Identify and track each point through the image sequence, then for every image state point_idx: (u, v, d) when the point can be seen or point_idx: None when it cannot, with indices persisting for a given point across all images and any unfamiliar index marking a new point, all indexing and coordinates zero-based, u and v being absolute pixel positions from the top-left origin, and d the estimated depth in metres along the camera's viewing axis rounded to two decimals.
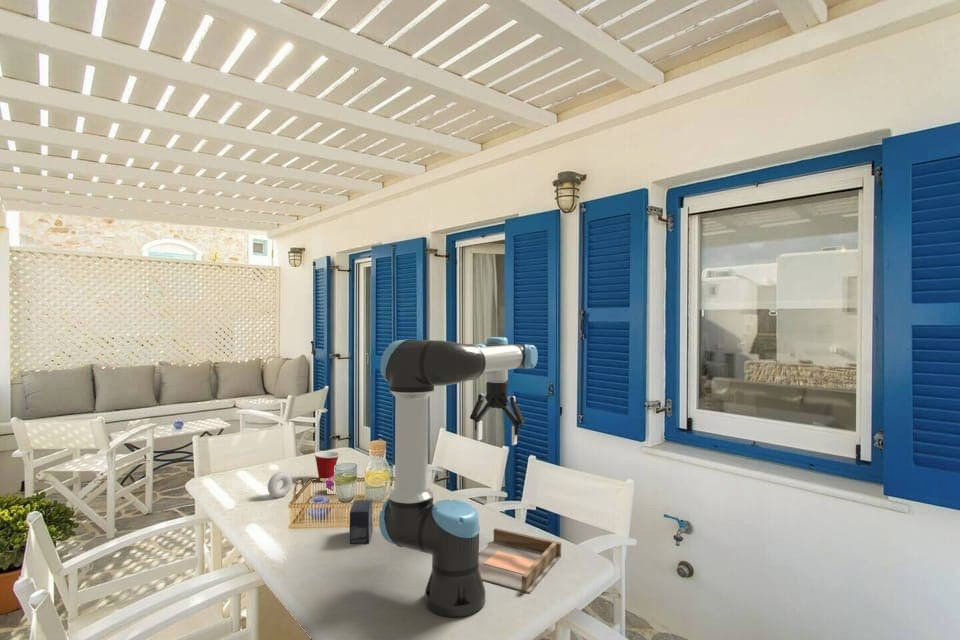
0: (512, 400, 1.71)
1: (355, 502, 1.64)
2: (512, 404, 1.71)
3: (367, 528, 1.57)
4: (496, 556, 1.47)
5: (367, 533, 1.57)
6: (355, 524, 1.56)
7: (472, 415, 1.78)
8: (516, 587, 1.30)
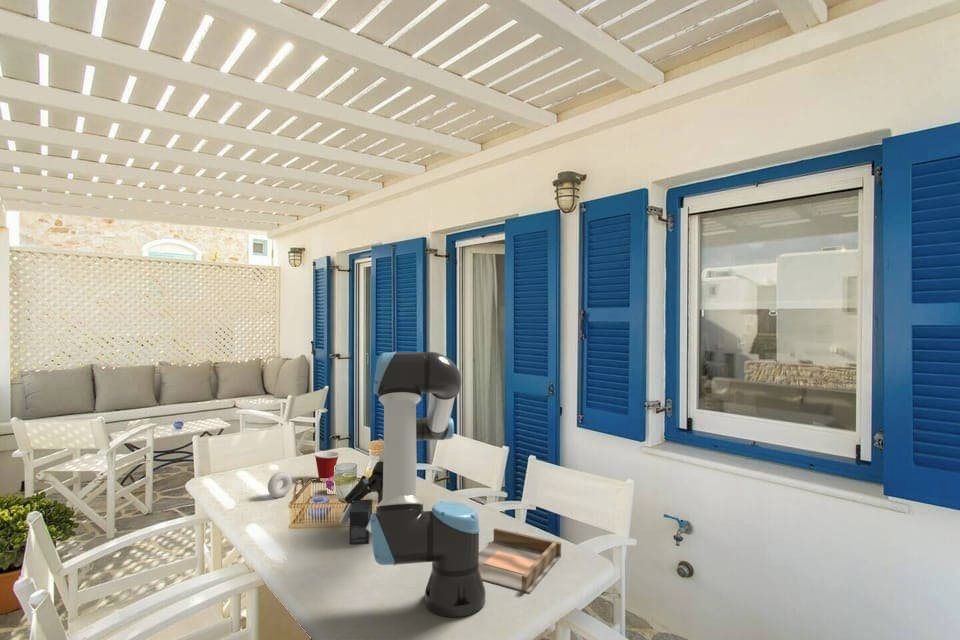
0: None
1: (355, 502, 1.64)
2: None
3: None
4: (496, 556, 1.47)
5: (367, 533, 1.57)
6: (355, 524, 1.56)
7: (348, 496, 1.68)
8: (516, 587, 1.30)
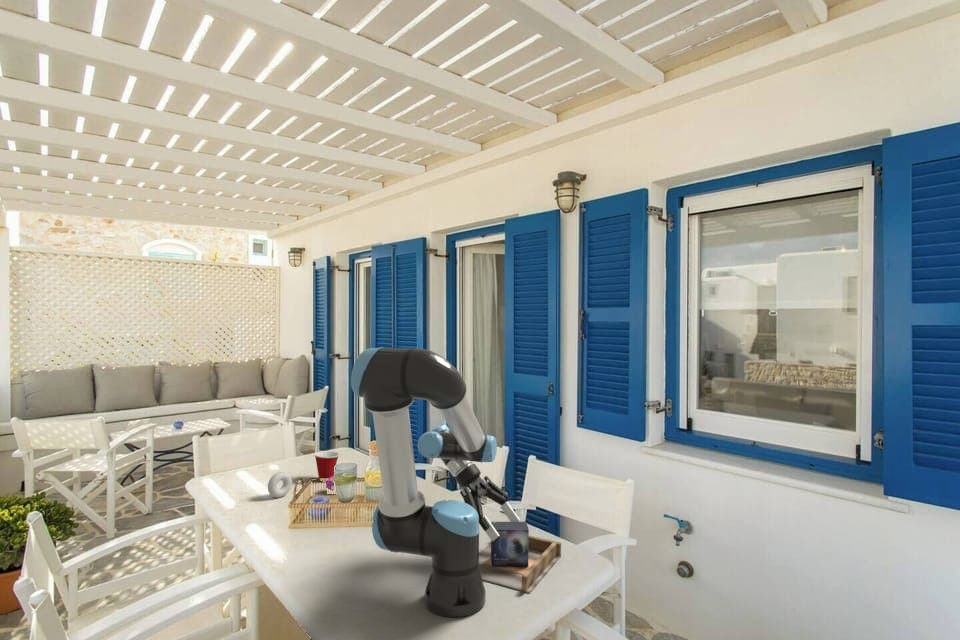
0: (488, 479, 1.57)
1: (500, 528, 1.42)
2: (491, 482, 1.56)
3: None
4: None
5: None
6: None
7: (476, 512, 1.41)
8: (516, 587, 1.30)
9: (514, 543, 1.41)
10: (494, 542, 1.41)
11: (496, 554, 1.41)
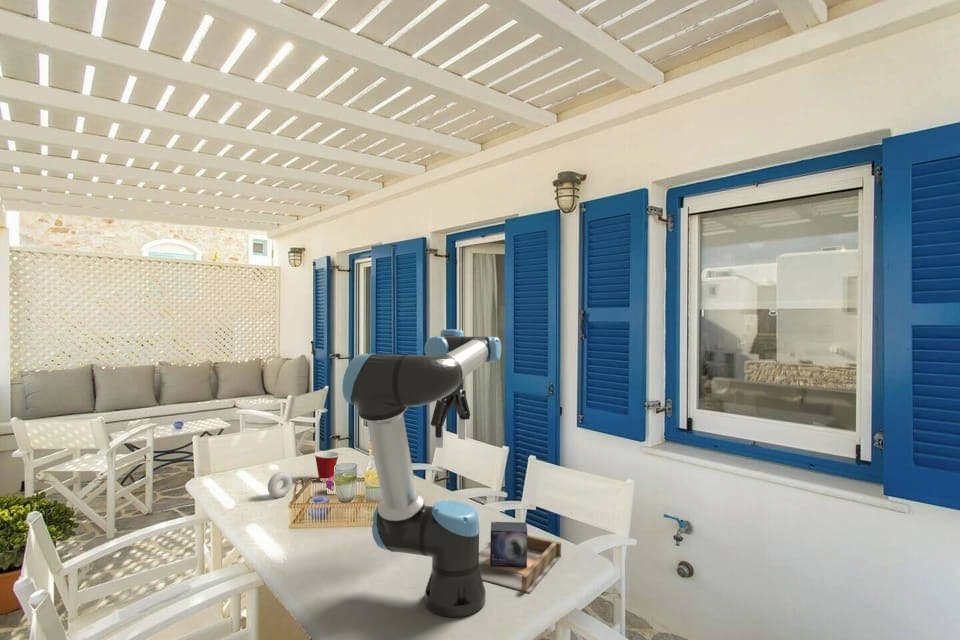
0: (465, 393, 1.66)
1: (498, 529, 1.42)
2: (465, 398, 1.66)
3: None
4: None
5: None
6: None
7: (439, 421, 1.53)
8: (516, 587, 1.30)
9: (512, 544, 1.41)
10: (492, 542, 1.41)
11: (495, 555, 1.41)
